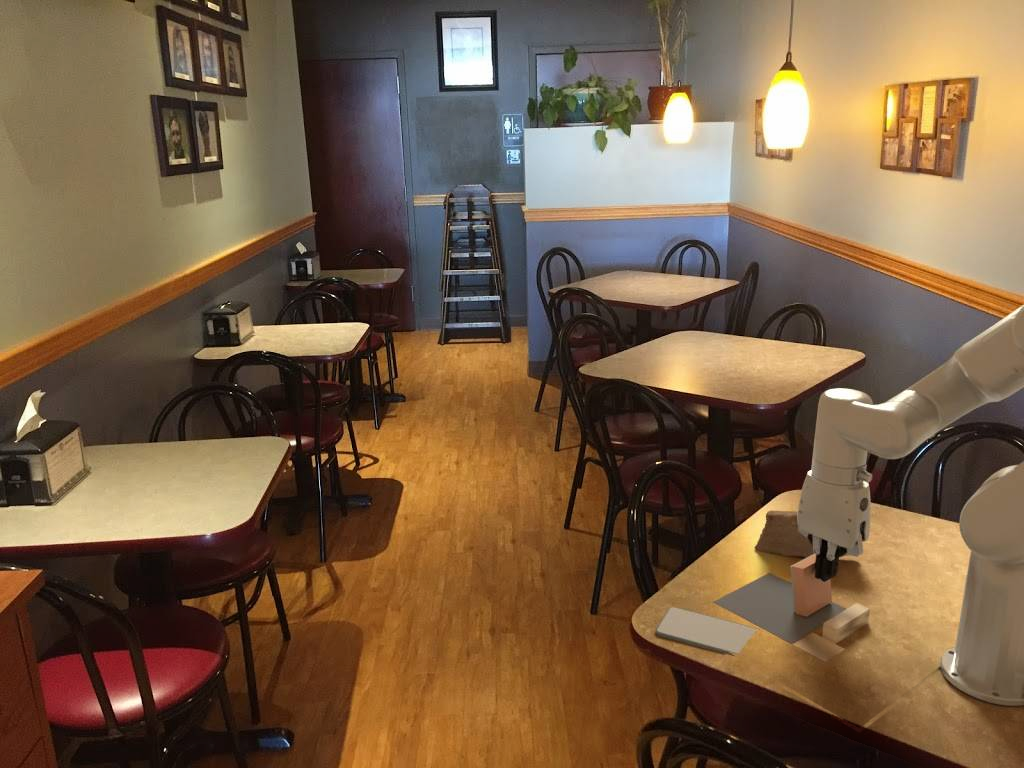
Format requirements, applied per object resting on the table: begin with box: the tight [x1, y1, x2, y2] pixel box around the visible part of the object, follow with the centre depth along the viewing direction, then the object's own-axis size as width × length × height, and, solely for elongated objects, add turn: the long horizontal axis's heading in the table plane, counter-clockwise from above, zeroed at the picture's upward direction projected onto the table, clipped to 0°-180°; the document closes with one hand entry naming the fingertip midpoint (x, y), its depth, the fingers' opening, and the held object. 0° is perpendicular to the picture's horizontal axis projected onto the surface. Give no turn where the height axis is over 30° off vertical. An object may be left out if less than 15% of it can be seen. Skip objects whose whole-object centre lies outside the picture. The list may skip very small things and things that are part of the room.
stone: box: [754, 509, 848, 559], centre depth 150 cm, size 19×10×4 cm
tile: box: [790, 554, 833, 617], centre depth 135 cm, size 2×7×8 cm, turn 127°
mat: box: [713, 572, 847, 645], centre depth 137 cm, size 15×15×1 cm
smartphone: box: [655, 606, 762, 657], centre depth 130 cm, size 8×1×15 cm
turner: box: [792, 602, 871, 663], centre depth 128 cm, size 14×6×3 cm, turn 127°
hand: (825, 577), depth 133 cm, fingers closed
